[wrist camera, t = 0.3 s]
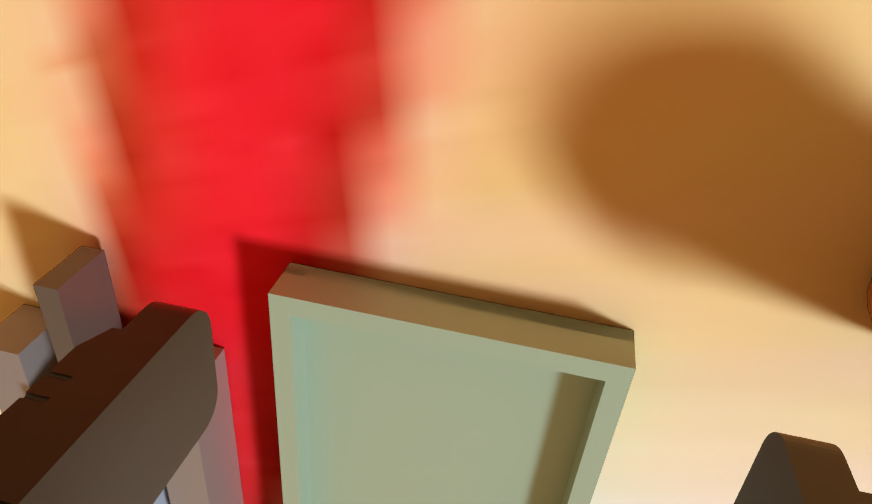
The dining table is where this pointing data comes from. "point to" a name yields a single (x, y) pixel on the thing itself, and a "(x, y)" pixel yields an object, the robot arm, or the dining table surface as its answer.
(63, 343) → the tall grey bar
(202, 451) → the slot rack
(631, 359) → the tray
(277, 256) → the dining table surface
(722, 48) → the dining table surface
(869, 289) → the disposable coffee cup
